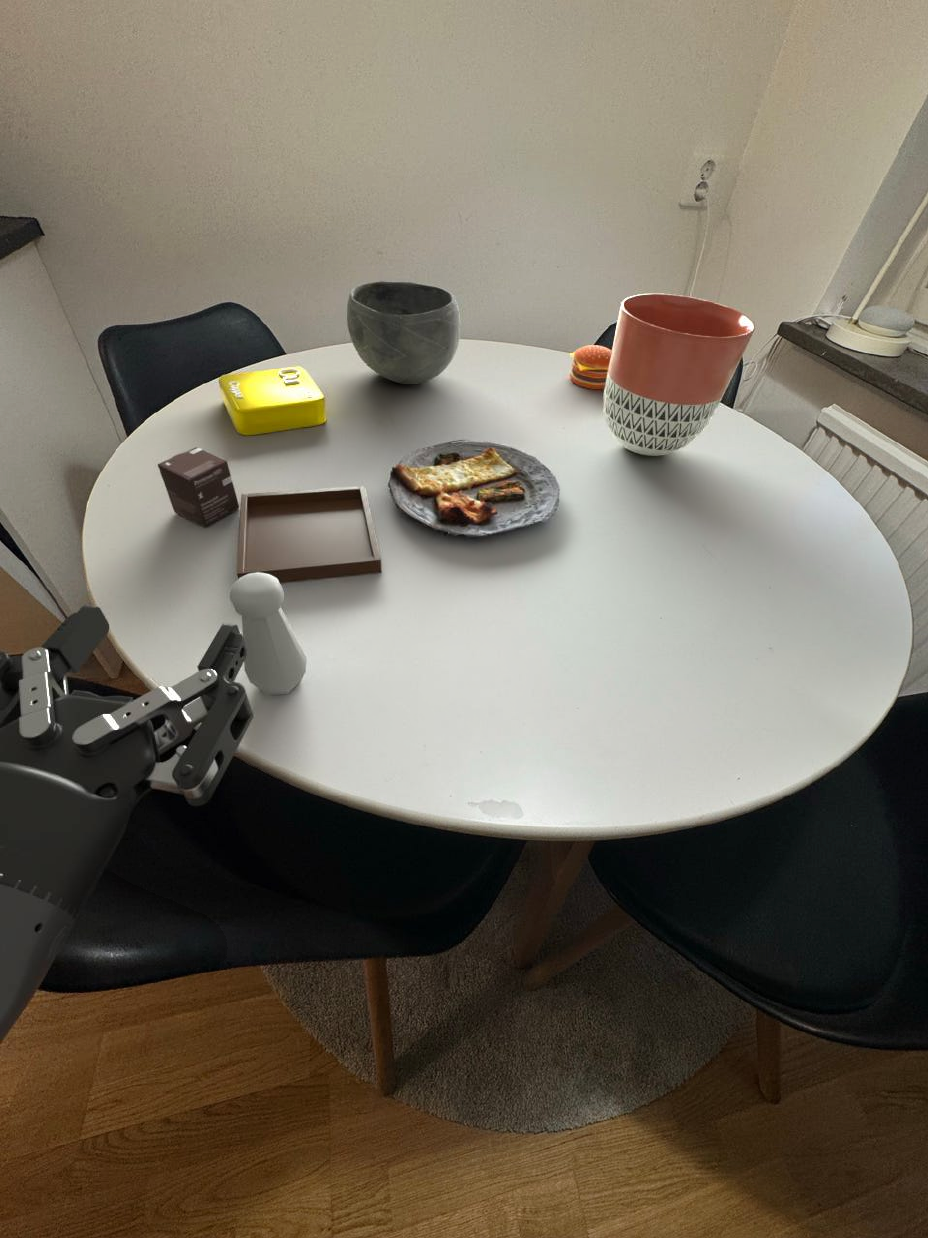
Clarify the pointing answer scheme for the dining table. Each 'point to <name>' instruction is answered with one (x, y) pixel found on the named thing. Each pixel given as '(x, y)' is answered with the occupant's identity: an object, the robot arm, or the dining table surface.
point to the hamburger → (590, 366)
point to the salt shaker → (267, 635)
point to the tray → (307, 534)
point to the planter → (670, 369)
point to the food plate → (473, 488)
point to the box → (199, 486)
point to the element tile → (272, 400)
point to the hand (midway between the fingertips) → (166, 624)
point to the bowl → (404, 329)
